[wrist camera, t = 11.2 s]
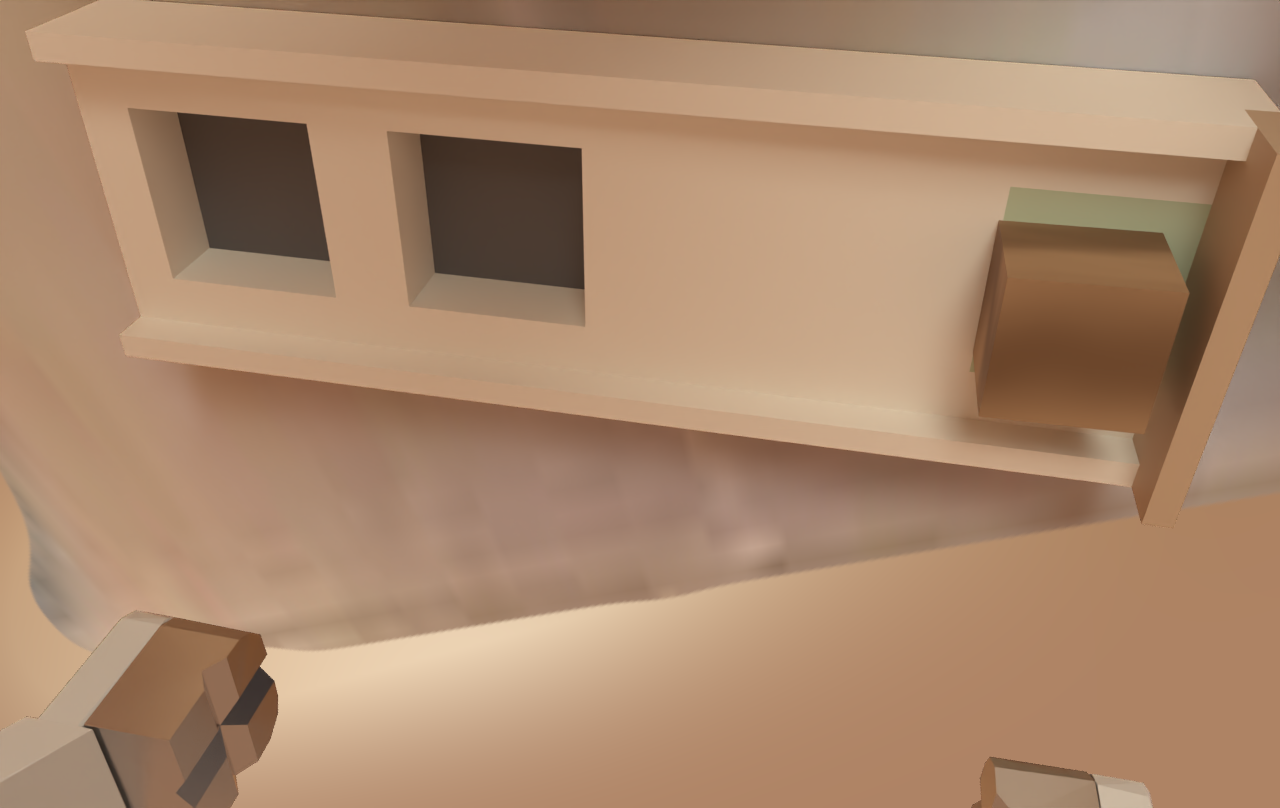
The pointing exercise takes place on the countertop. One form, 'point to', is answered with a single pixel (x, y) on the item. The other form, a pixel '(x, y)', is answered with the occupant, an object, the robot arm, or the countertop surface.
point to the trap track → (657, 221)
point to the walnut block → (1076, 325)
